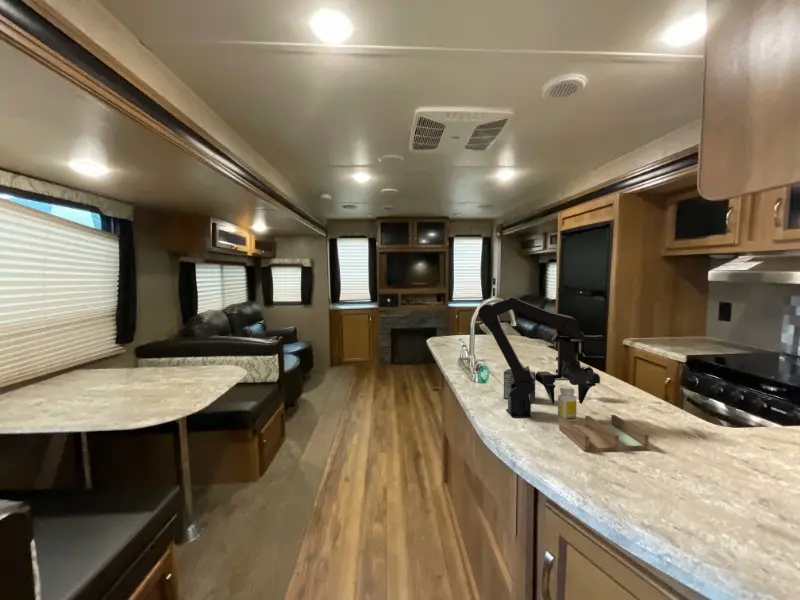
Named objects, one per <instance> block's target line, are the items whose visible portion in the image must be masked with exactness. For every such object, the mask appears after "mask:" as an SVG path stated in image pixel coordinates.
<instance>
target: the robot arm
mask: <svg viewBox="0 0 800 600" xmlns="http://www.w3.org/2000/svg"><path fill="white" fill-rule="evenodd" d="M511 310H513V311H516V312H518V313H520V314H523V315H526V316H527V317H530V318H533V319H535V320H537V321H540V322H542V323H545V324H547V325H548V326H549V327H552V328H553V329H554V330H556V331H557V332H559V333H561V334H563V336H562V335H559V333H556V334H555V335H554V336H553V337H552V338H551V341H552V342H554V343H555V342H556V343H557V356H556V358H555V361H557V369H555V373H556V374H555V373H554V374H553V373H551V372H549V371H537V372H535V378H534V375H533V374H532V373H531V372H532V371H531V369H530V366H529V365H526V366H524V365H523V364H522V363H521V361H520V359H519V357H518V355H517V354H516V352H515V349H514V348H513V345H512V344H511V342H510V340H509V338H508V336H507V334H506V332H505V330H504V328H503V326H502V323H501V320H500V316H499V315H502V314H504V313H506V312H509V311H511ZM477 315H478V317H479V319H480V320H481V322H482V323H483V325H484V326H485V327H486V328H487V329H488V330H489V331H490V333H491V334H492V336H493V338H494V340H495V341H496V344H497V346H498V348H499V350H500V352H501V354H502V355H503V357H504V359H505V361H506V363H507V365H508V367H509V369H511V371H512V375H513V379H514V383H512V384H511V385H510V392H509V394H508V400H507V408H505V411H506V412H507V413H508V414H509V416H510V417H511V418H532V414H531V413H532V403H531V401H530V400H529V399H530V397H529V396H528V395H529V394H530V393H532V392H533V391H534V388H535V389H536V384H535V385H534V382H535V383H536V382H538V383H539V384H541V385H542V386H543V387H544V389H545V390H546V393H547V396H548V398H549V400H550V403H551V405H555V388H556V384H555V383H556V381H568V382H569V383H570V385H573V386H577V393H578V395H577V396H578V397H579V399H578V403H579V404H580V405H582V404H583V403H584V401H585V400H584V398H585V396H586V397H587V395H588V394H587V393H588V391H589V390H590V389H591V388H592V387H596V385H597V384H600V383H601V377H600V375H599V374H598V373H596V372H594V369H593V367H591V368H581V366H580V365H581V362H580V360H578V356H579V355H578V354H582V356H583V357H587V358H588V357H589V358H605V357H606V352H607V347H606V345H605V344H606V343H605V340H604V339H605V338H604V337H605V336H603V335H600V334H599V335H598V334H597V335H585V333H583V332H582V331H581V330H580V323H579V322H578V320H577V319H575V318H574V317H572V316H569V315H566V314H561V313H557V312H556V313H555V312H551V311H548V310H545V309H542V308H540V307H538V306H535V305H533V304H530V303H527V302H525V301H523V300H520V299H518V298H516V297H514V296H510V297H507V299H504V300H500V301H498V302H496V303H493V304H492V303H485V304H483V305H482V306H480V308H479V309H478V312H477ZM571 337H574V338H575V339H571ZM578 352H579V353H578Z"/></svg>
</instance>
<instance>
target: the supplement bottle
mask: <svg viewBox="0 0 800 600" xmlns="http://www.w3.org/2000/svg"><path fill="white" fill-rule="evenodd" d="M559 416H563V417H564V418H565V419H567V420H568V421H569V422H570V423H572V422H575V421H576V420H577V396H575V389H574V388H572V387H568V386H563V387H560V394H559V395H558V397H557V418H558V419H559Z"/></svg>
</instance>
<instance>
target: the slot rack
mask: <svg viewBox="0 0 800 600" xmlns="http://www.w3.org/2000/svg"><path fill="white" fill-rule="evenodd" d="M610 416H611V419H610V424H602V423H601V422H599V421H597V420H596V419H595V418H593V417H591V416H590V415H585V418H584V419H585V422H584V425H574V424H573V423H572V422H570V421H568V420H567V419H565V418H564V417H563V416H559V418H558V424H559V425H558V429H559V432H561V433H562V434H564V435H565V436H566V437H567V438H568V439H569V440H571V442H573V443H574V444H575V445H576V446H577V447H579V448H580V449H581V450H582V451H583V452H585V453H589V452H591V453H592V452H622V451H648V450H649V437H650V435H649V434H648V433H646V432H644V431H642V430H641V429H639V428H638V427H636V426H635V425H633V424H631V423H629V422H628V421H626V420H624V419H623V418H621V417H619V416H617V415H615V414H611V415H610Z"/></svg>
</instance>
